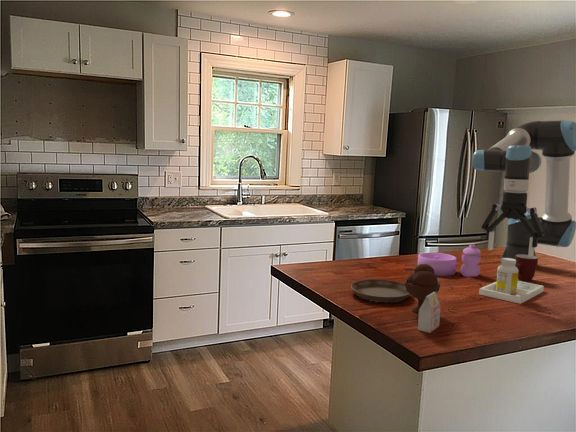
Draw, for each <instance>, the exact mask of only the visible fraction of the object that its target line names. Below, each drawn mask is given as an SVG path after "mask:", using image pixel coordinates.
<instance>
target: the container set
mask: <svg viewBox="0 0 576 432" xmlns="http://www.w3.org/2000/svg"><path fill="white" fill-rule="evenodd" d="M462 253H463V254H462V255H461V260H462V262H463V264H462V265H461V267H460V273H461V275H462V276H463V277H465V278H472V277H478V276H479V275H480V273H481V268H480V266H479V265H478V264H480V263H481V260H482V258H481V250H480V249H479V248H477V247H476V244H474V243H473V244H472V243H469V246H467V247H466V248H464V249H463V250H462ZM420 264H428V265H430V266H431V267H432V268H433V269H434V275H435V276H440V277H445V276H453V275H456V271H457V270H456V269H457V256H454V255H453V254H447V253H443V252H419V253H418V254H417V266H418V265H420Z"/></svg>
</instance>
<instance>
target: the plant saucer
mask: <svg viewBox="0 0 576 432" xmlns="http://www.w3.org/2000/svg"><path fill="white" fill-rule="evenodd" d="M350 287H351V290H352V291H353V293H354V294H355V295H356V296H357V297H358V296H359V297H358V298H360V297H361V298H360V299H362V298H363V299H362V300H364V299H366V300H365V301H367V300H369V302H372V301H375V302H374V303H378V302H385V303H384V304H388V303H387V302H396V303H400V302H402V301H405V300H406V299H407V298H408V297H409V296H411V295H410V294H409V293H408V292H407V290H406V288H405V283H402V282H399V281H396V280H389V279H377V278H376V279H361V280H356V281H355V282H353V283H351V284H350ZM359 290H361V291H362V292H363V293H364V294H363V293H360V292H361V291H360V292H358V291H359Z"/></svg>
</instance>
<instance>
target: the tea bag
mask: <svg viewBox="0 0 576 432" xmlns="http://www.w3.org/2000/svg"><path fill="white" fill-rule="evenodd" d="M441 309H442V308H441V304H440V300H439V299H438V295H437V294H436V292H433V293H431V294H430V295H428V296H426V298H425V300H424V302H423V304H422V306H421V307H420V309H419V314H418V319H417V321H418V322H417V330H418V331H421V332H425V333H429V334H431V333H433V331H435V330H437V328H439V327H440V322H441V321H440V318H441Z"/></svg>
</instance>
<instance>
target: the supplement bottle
mask: <svg viewBox="0 0 576 432" xmlns="http://www.w3.org/2000/svg"><path fill="white" fill-rule="evenodd" d="M500 263H501V264H500V265H498V267H497V269H496V270H497V271H496V281H497V282H496V281H495V282H496V292H501V293H505V294H510V295H514V296H516V294H517V283H518V281H519V279H518V268H517V267H515V264H516V260H515V259H511V258H502V259H501V258H500Z"/></svg>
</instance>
